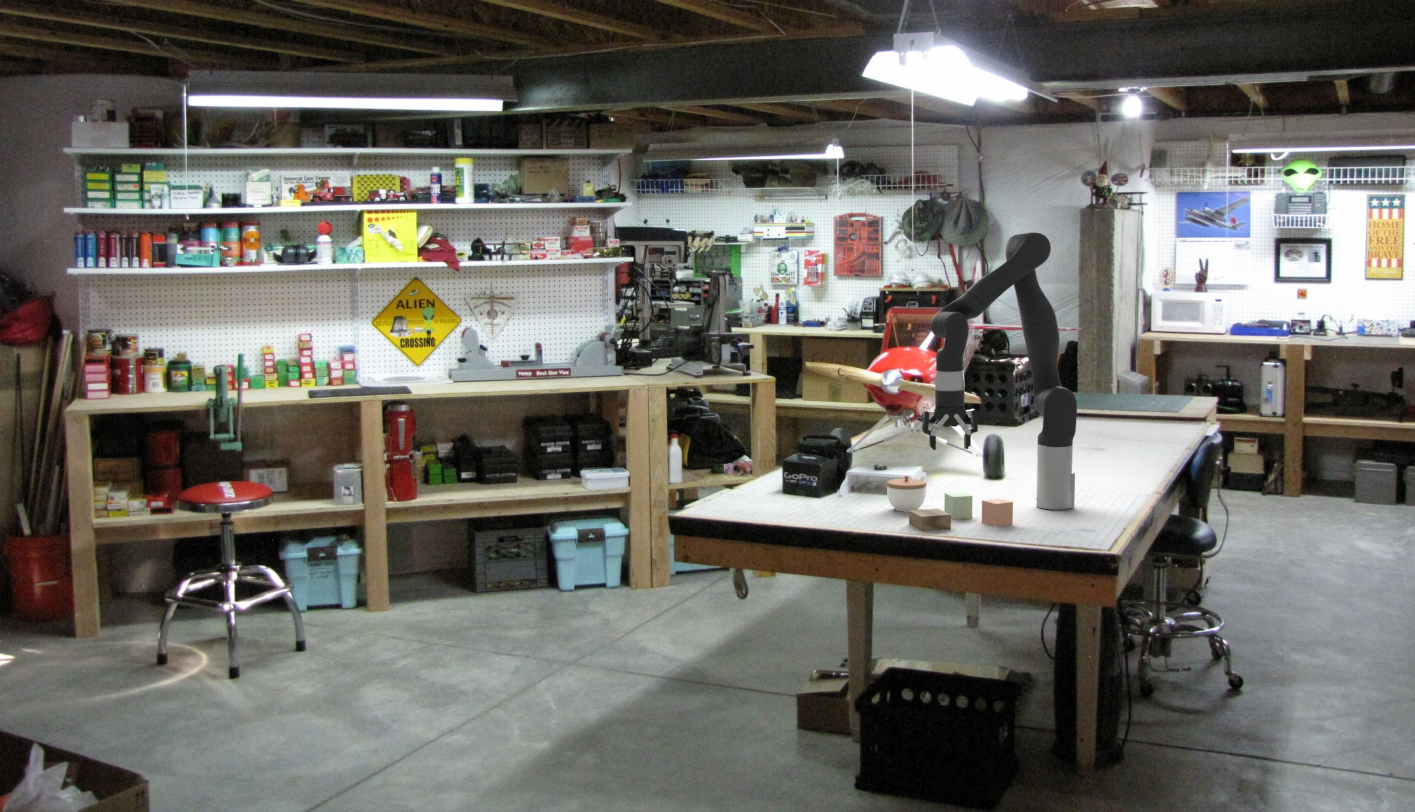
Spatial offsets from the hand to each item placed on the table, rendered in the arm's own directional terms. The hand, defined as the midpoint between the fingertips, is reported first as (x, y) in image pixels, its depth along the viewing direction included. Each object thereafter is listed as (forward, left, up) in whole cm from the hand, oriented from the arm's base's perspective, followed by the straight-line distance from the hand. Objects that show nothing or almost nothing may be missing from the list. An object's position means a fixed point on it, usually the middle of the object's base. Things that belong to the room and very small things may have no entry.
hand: (949, 449), depth 323 cm
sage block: (-2, 0, -18) cm, 18 cm away
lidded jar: (+8, -12, -18) cm, 23 cm away
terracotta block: (-8, +11, -18) cm, 23 cm away
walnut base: (+10, +10, -18) cm, 23 cm away
